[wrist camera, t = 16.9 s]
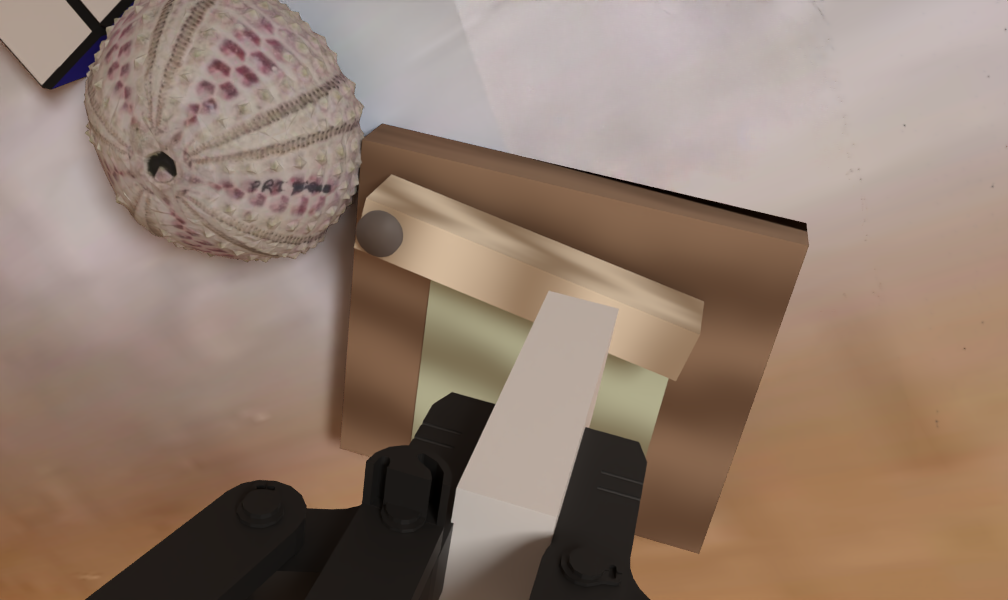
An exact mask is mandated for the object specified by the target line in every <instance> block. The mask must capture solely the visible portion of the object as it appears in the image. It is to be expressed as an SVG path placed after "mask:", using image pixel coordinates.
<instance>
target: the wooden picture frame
mask: <svg viewBox="0 0 1008 600" xmlns="http://www.w3.org/2000/svg"><path fill="white" fill-rule="evenodd" d="M361 161H362V163H361V165H360V176H359V190H358V204H357V218H356V226H357V223H358V222H359V220H360V219H361V217H362V213H363V209H364V205H365V201H366V198H367V197H368V196H369V195H370V194H371V193H372V192H373V191H374V190H375V189H376V188H378V187H379V186H380V185H381V184H382V183H383V182H384V181H385V180H386V179H387V178H388V177H389V176H390V175H394V176H397V177H399V178H402V179H404V180H407V181H409V182H412V183H414V184H417V185H419V186H421V187H424V188H426V189H429V190H431V191H434V192H436V193H439V194H441V195H444V196H446V197H448V198H451V199H453V200H456V201H458V202H461V203H463V204H466V205H468V206H471V207H473V208H475V209H478V210H480V211H483V212H485V213H488V214H490V215H493V216H495V217H498V218H500V219H502V220H505V221H507V222H510V223H512V224H515V225H517V226H520V227H522V228H525V229H527V230H530V231H532V232H534V233H537V234H539V235H542V236H544V237H547V238H549V239H552V240H554V241H557V242H559V243H561V244H564V245H566V246H569V247H571V248H574V249H576V250H579V251H581V252H584V253H586V254H588V255H591V256H593V257H596V258H598V259H601V260H603V261H606V262H608V263H611V264H613V265H615V266H618V267H620V268H623V269H625V270H628V271H630V272H633V273H635V274H638V275H640V276H643V277H645V278H647V279H650V280H652V281H655V282H657V283H660V284H662V285H665V286H667V287H670V288H672V289H674V290H677V291H679V292H682V293H684V294H687V295H689V296H692V297H694V298H697V299H699V300H701V301H704V308H703V316H702V323H701V331H700V336H699V338H698V340H697V342H696V344H695V346H694V347H693V349H692V351H691V353H690V355H689V357H688V359H687V361H686V363H685V365H684V367H683V369H682V371H681V372H680V374H679V376H678V378H677V380H676V381H674V380H672V379H669V378H667V377H664V376H662V375H660V374H657V373H655V372H652V371H650V370H648V369H645V368H643V367H640V366H638V365H636V364H633V363H631V362H628V361H626V360H623V359H621V358H619V357H616V356H614V355H611V354H609V353H608V355H607V359H606V363H605V367H604V371H603V375H602V379H601V384H600V388H599V392H598V396H597V400H596V404H595V408H594V412H593V416H592V419H591V423H590V426H589V428H591V429H594V430H598V431H602V432H605V433H609V434H612V435H616V436H620V437H623V438H627V439H630V440H634V441H638V442H639V443H640V445H641V448H642V450H643V453H644V455H645V458H646V460H647V467H646V473H645V478H644V483H643V489H642V495H641V500H640V506H639V512H638V517H637V523H636V529H635V534H634V535H637V536H640V537H643V538H647V539H650V540H654V541H657V542H660V543H664V544H667V545H671V546H674V547H677V548H681V549H684V550H688V551H691V552H694V553H698V554H699V553H700V550H701V547H702V544H703V541H704V539H705V536H706V533H707V530H708V527H709V525H710V522H711V519H712V516H713V513H714V511H715V508H716V505H717V502H718V499H719V497H720V494H721V491H722V488H723V485H724V482H725V480H726V477H727V474H728V471H729V468H730V466H731V463H732V460H733V457H734V454H735V452H736V449H737V446H738V443H739V440H740V438H741V435H742V432H743V429H744V426H745V424H746V421H747V418H748V415H749V412H750V409H751V407H752V404H753V401H754V398H755V395H756V393H757V390H758V387H759V384H760V381H761V379H762V376H763V373H764V370H765V367H766V365H767V362H768V359H769V356H770V353H771V351H772V348H773V345H774V342H775V339H776V336H777V334H778V331H779V328H780V325H781V322H782V320H783V317H784V314H785V311H786V308H787V306H788V303H789V300H790V297H791V294H792V292H793V289H794V286H795V283H796V280H797V277H798V275H799V272H800V269H801V266H802V263H803V261H804V258H805V255H806V252H807V249H808V247H809V243H808V234H807V224H806V223H804V222H799V221H795V220H791V219H787V218H782V217H778V216H774V215H769V214H765V213H761V212H757V211H752V210H748V209H744V208H740V207H735V206H731V205H727V204H723V203H718V202H714V201H710V200H706V199H701V198H697V197H693V196H689V195H684V194H680V193H676V192H672V191H667V190H663V189H659V188H654V187H650V186H646V185H642V184H637V183H633V182H629V181H625V180H620V179H616V178H612V177H608V176H603V175H599V174H595V173H591V172H586V171H582V170H578V169H574V168H569V167H565V166H561V165H557V164H552V163H548V162H544V161H539V160H535V159H531V158H527V157H522V156H518V155H514V154H510V153H505V152H501V151H497V150H493V149H488V148H484V147H480V146H476V145H471V144H467V143H463V142H459V141H454V140H450V139H446V138H442V137H437V136H433V135H429V134H424V133H420V132H416V131H412V130H407V129H403V128H399V127H395V126H390V125H386V124H381V125H380V126H379V127H377V128H376V129H375V130H374V131H372V132H371V133H370V134H368V135H367V136H366V137H364V138H363V139H362V148H361ZM355 241H356V232H355ZM533 323H534V322H532V321H529V320H527V319H525V318H522V317H520V316H517V315H515V314H512V313H510V312H508V311H505V310H503V309H500V308H498V307H496V306H493V305H491V304H488V303H486V302H484V301H481V300H479V299H476V298H474V297H471V296H469V295H467V294H464V293H462V292H459V291H457V290H455V289H452V288H450V287H447V286H445V285H443V284H440V283H438V282H435V281H433V280H430V279H428V278H426V277H423V276H421V275H418V274H416V273H414V272H411V271H409V270H406V269H404V268H401V267H399V266H397V265H394V264H392V263H389V262H387V261H385V260H382V259H380V258H377V257H375V256H373V255H370V254H368V253H365V252H363V251H360V250H358V249H356V248H354V260H353V274H352V288H351V301H350V315H349V329H348V343H347V357H346V371H345V385H344V399H343V413H342V427H341V441H340V448H341V449H344V450H348V451H351V452H355V453H358V454H361V455H365V456H368V457H371V456H372V455H373V454H374V453H375V452H378V451H380V450H383V449H385V448H387V447H391V446H401V445H409V444H410V442H411V441H412V439H414V436H415V434H416V432H417V430H418V429H419V427H420V425H422V423H423V420H424V418H425V417H426V415H427V413H428V411H429V410H430V408H431V406H432V405H433V404H434V403H435V402H437V401H439V400H440V399H442V398H443V397H445V396H447V395H448V394H450V393H451V392H454V393H458V394H461V395H465V396H468V397H472V398H476V399H479V400H483V401H486V402H490V403H494V404H496V402H497V400H498V398H499V396H500V394H501V392H502V390H503V387H504V385H505V383H506V381H507V379H508V377H509V375H510V372H511V370H512V368H513V366H514V364H515V362H516V360H517V357H518V355H519V353H520V351H521V349H522V347H523V345H524V342H525V340H526V338H527V336H528V334H529V332H530V330H531V328H532V325H533Z"/></svg>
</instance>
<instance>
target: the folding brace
mask: <svg viewBox="0 0 1008 600" xmlns="http://www.w3.org/2000/svg"><path fill="white" fill-rule="evenodd" d="M354 248H356V249H358V250H360V251H363V252H365V253H368V254H370V255H373V256H375V257H377V258H380V259H382V260H385V261H387V262H389V263H392V264H394V265H397V266H399V267H401V268H404V269H406V270H409V271H411V272H414V273H416V274H418V275H421V276H423V277H426V278H428V279H430V280H433V281H435V282H438V283H440V284H443V285H445V286H447V287H450V288H452V289H455V290H457V291H459V292H462V293H464V294H467V295H469V296H471V297H474V298H476V299H479V300H481V301H484V302H486V303H488V304H491V305H493V306H496V307H498V308H500V309H503V310H505V311H508V312H510V313H512V314H515V315H517V316H520V317H522V318H525V319H527V320H529V321H532V322H534V321H535V319H536V317H537V315H538V313H539V310H540V308H541V306H542V304H543V302H544V300H545V298H546V295H547V293H548V291H552V292H556V293H560V294H563V295H567V296H571V297H575V298H579V299H583V300H587V301H591V302H595V303H599V304H603V305H606V306H610V307H614V308H618V309H619V311H618V315H617V319H616V323H615V327H614V331H613V335H612V339H611V343H610V347H609V351H608V353H609V354H611V355H614V356H616V357H619V358H621V359H623V360H626V361H628V362H631V363H633V364H636V365H638V366H640V367H643V368H645V369H648V370H650V371H652V372H655V373H657V374H660V375H662V376H664V377H667V378H669V379H672V380H674V381H676V380H677V378H678V376H679V374H680V372H681V371H682V369H683V367H684V365H685V363H686V361H687V359H688V357H689V355H690V353H691V351H692V349H693V347H694V346H695V344H696V342H697V340H698V338H699V336H700V331H701V323H702V316H703V308H704V301H701V300H699V299H697V298H694V297H692V296H689V295H687V294H684V293H682V292H679V291H677V290H674V289H672V288H670V287H667V286H665V285H662V284H660V283H657V282H655V281H652V280H650V279H647V278H645V277H643V276H640V275H638V274H635V273H633V272H630V271H628V270H625V269H623V268H620V267H618V266H615V265H613V264H611V263H608V262H606V261H603V260H601V259H598V258H596V257H593V256H591V255H588V254H586V253H584V252H581V251H579V250H576V249H574V248H571V247H569V246H566V245H564V244H561V243H559V242H557V241H554V240H552V239H549V238H547V237H544V236H542V235H539V234H537V233H534V232H532V231H530V230H527V229H525V228H522V227H520V226H517V225H515V224H512V223H510V222H507V221H505V220H502V219H500V218H498V217H495V216H493V215H490V214H488V213H485V212H483V211H480V210H478V209H475V208H473V207H471V206H468V205H466V204H463V203H461V202H458V201H456V200H453V199H451V198H448V197H446V196H444V195H441V194H439V193H436V192H434V191H431V190H429V189H426V188H424V187H421V186H419V185H417V184H414V183H412V182H409V181H407V180H404V179H402V178H399V177H397V176H394V175H390V176H389V177H388V178H387V179H386V180H385V181H384V182H383V183H382V184H381V185H380V186H379V187H378V188H376V189H375V190H374V191H373V192H372V193H371V194H370V195H369V196H368V197H367V198H366V201H365V205H364V209H363V213H362V217H361V219H360V220H359V222H358V223H357V226H356V241H355V245H354Z"/></svg>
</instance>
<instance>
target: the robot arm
mask: <svg viewBox="0 0 1008 600" xmlns="http://www.w3.org/2000/svg"><path fill="white" fill-rule="evenodd" d="M618 311H619V309H618V308H614V307H610V306H606V305H603V304H599V303H595V302H591V301H587V300H583V299H579V298H575V297H571V296H567V295H563V294H560V293H556V292H552V291H548V293H547V295H546V298H545V300H544V302H543V304H542V306H541V308H540V310H539V313H538V315H537V317H536V319H535V321H534V323H533V325H532V328H531V330H530V332H529V334H528V336H527V338H526V340H525V342H524V345H523V347H522V349H521V351H520V353H519V355H518V357H517V360H516V362H515V364H514V366H513V368H512V370H511V372H510V375H509V377H508V379H507V381H506V383H505V385H504V387H503V390H502V392H501V394H500V396H499V398H498V400H497V402H496V404H494V403H490V402H486V401H483V400H479V399H476V398H472V397H468V396H465V395H461V394H458V393H454V392H451V393H450V394H448V395H447V396H445V397H443V398H442V399H440V400H439V401H437V402H435V403H434V404H433V405H432V406H431V408H430V410H429V411H428V413H427V415H426V417H425V418H424V420H423V423H422V425H420V427H419V429H418V430H417V432H416V434H415V436H414V439H412V441H411V442H410V444H409V445H401V446H391V447H387V448H385V449H383V450H380V451H378V452H375V453H374V454H373V455H372V456H371V457H370V458H369V459H368V460H367V461H366V469H365V479H364V489H363V500H362V504H361V505H360V506H357V507H352V508H348V509H332V510H331V509H309V508H306V504H305V502H304V499H303V497H302V495H301V494H300V493H299V492H297V491H296V490H295V489H294V488H292V487H291V486H289V485H286V484H283V483H280V482H277V481H266V480H257V481H252V482H247V483H243V484H240V485H238V486H236V487H234V488H232V489H231V490H229V491H227V492H226V493H224V494H223V495H222V496H220V497H219V498H218V499H216V500H215V501H214V502H213V503H211V504H210V505H209V506H207V507H206V508H205V509H203V510H202V511H201V512H199V513H198V514H197V515H195V516H194V517H193V518H192V519H190V520H189V521H188V522H186V523H185V524H184V525H182V526H181V527H180V528H178V529H177V530H176V531H174V532H173V533H172V534H171V535H169V536H168V537H167V538H165V539H164V540H163V541H161V542H160V543H159V544H157V545H156V546H155V547H153V548H152V549H151V550H150V551H148V552H147V553H146V554H144V555H143V556H142V557H140V558H139V559H138V560H136V561H135V562H134V563H133V564H131V565H130V566H129V567H127V568H126V569H125V570H123V571H122V572H121V573H119V574H118V575H117V576H115V577H114V578H113V579H112V580H110V581H109V582H108V583H106V584H105V585H104V586H102V587H101V588H100V589H98V590H97V591H96V592H94V593H93V594H92V595H91V596H89V597H88V598H87V599H85V600H650V599H649V598H648V597H647V596H646V595H645V594H644V593H643V592H642V591H641V590H640V588H639V587H638V585H637V584H636V582H635V580H634V579H633V576H632V572H631V569H630V556H631V551H632V545H633V540H634V534H635V529H636V523H637V517H638V512H639V506H640V500H641V495H642V489H643V483H644V478H645V473H646V467H647V460H646V458H645V455H644V453H643V450H642V448H641V445H640V443H639V442H638V441H634V440H630V439H627V438H623V437H620V436H616V435H612V434H609V433H605V432H602V431H598V430H594V429H591V428H589V426H590V423H591V419H592V416H593V412H594V408H595V404H596V400H597V396H598V392H599V388H600V384H601V379H602V375H603V371H604V367H605V363H606V359H607V355H608V351H609V347H610V343H611V339H612V335H613V331H614V327H615V323H616V319H617V315H618Z"/></svg>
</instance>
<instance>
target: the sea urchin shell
mask: <svg viewBox="0 0 1008 600" xmlns="http://www.w3.org/2000/svg"><path fill="white" fill-rule="evenodd" d="M106 32H107V40H104V41H101V44H100V51H98V52H97V53H95V54H94V57H95V62H94V63H92V64H91V65H89V66H88V67H89V69H90V71H89V72H88V73H86V74H87V77H88V79H87V81H86V89H85V94H84V96H85V101H84V103H85V107H86V111H87V116H88V120H89V122H88V124H87V126H86V127H87V128H88V129H89V130H88V131H87V132H86V134H87V135H88V136H89V137H90V140H89V141H90V142H91V143H92V144H93V145H94V147H95V149H96V152H97V155H98V157H99V160H100V162H101V165H102V167H103V169H104V171H105V173H106V176H107V178H108V180H109V182H110V184H111V186H112V187H113V189H114V191H115V193H116V202H117V203H119V204H121V205H123V206H125V207H126V208H127V209H128V210H129V212H130V213H131V215H132V216H133V218H134V219H135V220H136V221H137V222H138V223H139V224H140V225H142V226H144V227H145V228H146V229H147V230H149V231H150V232H151V233H152V234H154V235H155V236H158V237H164V238H165V239H166V240H167V241H168V242H173V243H174V244H175V246H176V247H177V248H178V247H183V248H184V249H185V250H196V251H198V252H200V253H204V252H205V253H207V254H208V255H209V256H210V257H211V256H214V255H218V256H222V257H227V258H233V259H237V260H238V259H241V260H243V261H246V262H248V261H250V260H255V261H258V260H261V261H264V262H267V261H268V260H269V259H270V258H271V257H274V258H279V257H284V258H286V257H289V258H293V259H296V258H297V256H298V255H299V254H300V253H303V254H305V253H306V252H307V251H308V249H309V248H315V247H316V245H317V243H319V242H322V241H324V237H325V234H326V231H327V228H328V226H329V225H331V224H335V223H337V222H338V220H339V218H340V215H341V214H342V213H344V212H345V209H346V207H347V206H348V205H350V204H352V196H353V195H354V194H355V193H356V191H357V187H356V185H358V184H359V176H360V165H361V163H362V161H361V148H362V139H363V138H364V137H365V136H363V135H364V133H363V132H362V130H361V128H360V124H359V120H360V117H361V114H362V110H363V108H364V106H363V105H362V104H361V103H360V102H359V101H358V100H357V99H356V98H355V95H354V92H355V85H356V84H355V83H354V82H352V81H351V80H349V79H348V78H347V77H345V76H344V75H343V74H342V72H341V70H340V68H339V66H338V64H337V54H336V53H335V52H333V51H332V50H330V49H329V47H328V46H327V43H326V39H325V37H323V36H321V35H319V34H317V33H315V32H313V31H312V30H311V28H310V26H309V24H308V23H306V22H305V21H302V20H301V17H300V15H299V12H293V11H290V9H289V8H288V6H287V5H286V4H281V3H280V2H279V1H278V0H135V1H134V5H133V6H131V7H129V8H128V10H126V11H125V12H124V13H123V15H122V17H121V18H114V25H113V26H109V27H106Z"/></svg>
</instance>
